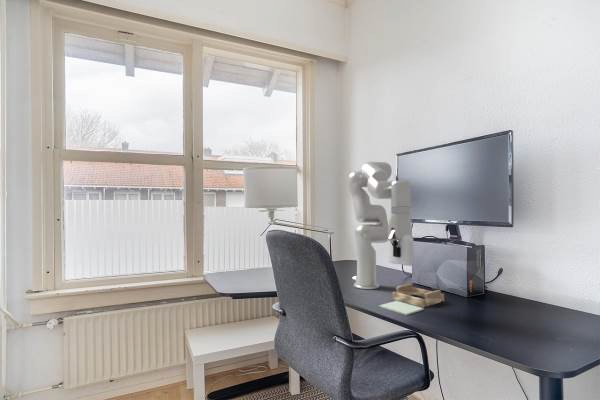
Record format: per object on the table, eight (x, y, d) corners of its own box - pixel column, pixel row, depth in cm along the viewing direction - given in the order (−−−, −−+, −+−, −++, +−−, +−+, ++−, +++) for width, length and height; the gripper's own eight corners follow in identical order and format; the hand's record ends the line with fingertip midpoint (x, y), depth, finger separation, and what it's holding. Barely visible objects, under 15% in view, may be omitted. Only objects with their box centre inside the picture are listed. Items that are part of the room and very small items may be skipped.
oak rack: (392, 298, 148) (392, 287, 148) (413, 293, 157) (413, 282, 157) (423, 307, 136) (423, 295, 136) (444, 301, 145) (444, 289, 145)
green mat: (379, 306, 137) (379, 305, 137) (396, 302, 143) (396, 300, 143) (406, 315, 126) (406, 313, 126) (423, 309, 133) (423, 308, 133)
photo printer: (387, 263, 138) (387, 232, 138) (393, 261, 140) (393, 232, 140) (409, 266, 130) (409, 234, 130) (415, 265, 132) (415, 234, 133)
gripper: (405, 210, 143) (405, 253, 143) (379, 211, 133) (379, 257, 133) (421, 211, 137) (421, 255, 137) (395, 211, 127) (395, 259, 127)
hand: (400, 255), depth 135 cm, fingers closed on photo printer, 4 cm apart
